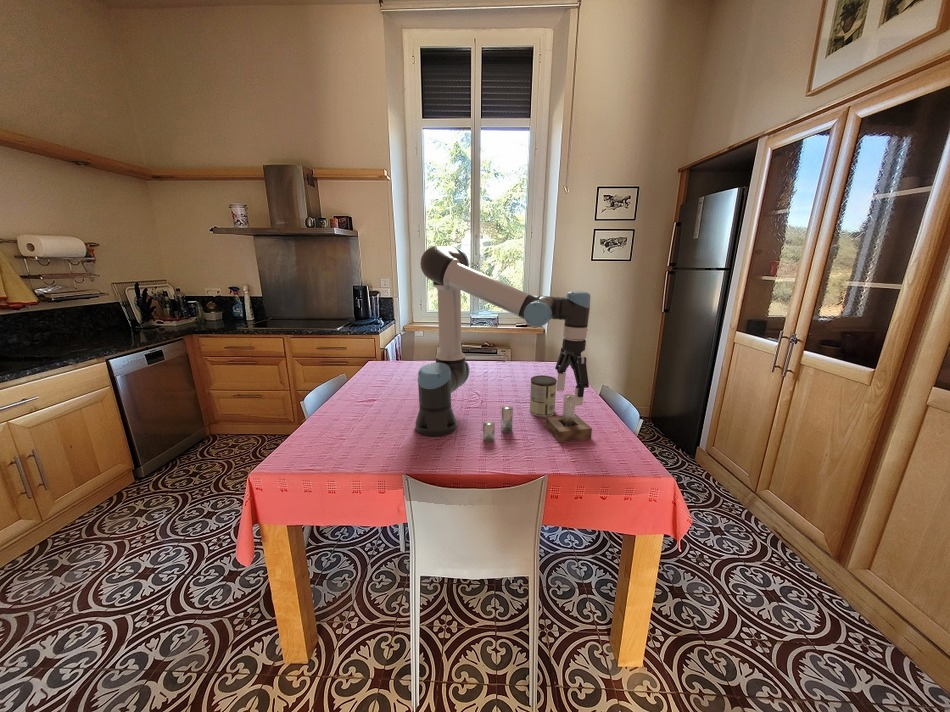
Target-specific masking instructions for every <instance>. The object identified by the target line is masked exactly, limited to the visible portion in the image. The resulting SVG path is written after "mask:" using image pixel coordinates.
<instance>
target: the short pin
mask: <svg viewBox="0 0 950 712" xmlns="http://www.w3.org/2000/svg"><path fill="white" fill-rule="evenodd" d="M495 429H496V424H495V422H494V421H490V420H486V421H484V422H483V424H482V440H483V442H485V443H493V442H495V439H496V437H495V436H496V435H495V434H496V433H495V432H496V431H495Z"/></svg>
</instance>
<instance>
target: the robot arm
mask: <svg viewBox="0 0 950 712" xmlns="http://www.w3.org/2000/svg"><path fill="white" fill-rule="evenodd" d="M469 266H470V263H469V259H468V256H467V255H466V253H465V252H464V251H463V250H462V249H460V248H458V247H454V246H441V245H434V246H431V247H428V248H427V249H426V250H425V251H424V252H423V253H422V255H421V258H420V269H421V271H422V273H423V275H424V276H425V278H427V279H428V280H430V281H432V283H433V284H432V285H433V287H435V288H436V290H437V313H438V314H437V315H438V316H437V317H438V348H439V349H438V350H439V352H438V353H436V355H435V362H431V363H427V364H425V365H423V366H422V367H421V368H420V369H419V370H418V373H417V385H418V386H417V387H418V402H419V403H418V404H419V406H418V407H419V408H418V409H419V410H418V413H417V416H416V419H415V424H414V425H415V431H416V432H417V433H418V434H420V435H423V436H425V437H431V438H432V437H443V436H446V435H449V434H451V433H453V432H454V431H455V430H456V429H457V419H456V416H455V414H454V413H455V412H454V410H453V408H452V393H453V392H455V391H456V390H457V389H458V388H460V387H462V386H463V385H464V384H466V382H467V380H468V378H469V376H470V366H469V364H468V361H466V355H465V353H464V352H462V351H463V350H462V302H461V301H462V299H461V298H462V295H461V294H462V293H461V291H462V292H464V293H467V294H468V295H471V296H473V297H475V298H478V299H479V300H482V301H483V302H486V303H487V304H488V303H489V304H490V305H492V306H494V307H497V308H500V309H502V310H503V311H506V312H508V313H511V314H513V315H515V316H516V317H519V318H521V319H523V320H524V321H525V322H526V323H527V324H528V325H529V326H531V327H533V328H534V327H536V328H537V327H538V328H539V327H542V326H544V325H546V324H547V323H548V322H549V321H551V320H560V321H564V324H563V335H562V336H563V339H562V345H561V348H560V351H559V352H560V353H559V355H558V358H557V361H556V364H555V367H554V368H555V369H554V370H556V373H557V378H556V380H557V382H556V392H557V391H558V392H559V391H562V392H563V391H565V385H566V376H567V374H566V373H567V370H568V368H569V366H570V368H571V369H572V370H573V374H574V379H575V383H576V385H575V388H574V396H575V397H574V406H575V407H576V406H583V401H584V393H585V388H589V387H590V384H589V376H588V369H587V357H586V356H582V352H585V351H586V347H587V344H586V343H587V340H586V339H587V333H588V327H589V326H588V325H589V317H590V308H591V294H590V293H589V292H587V291H579V290H577V291H574V290H573V291H571V290H570V291H568V292H567V293H566V295H565V296H562V297H561V296H548V295H531V294H530V293H528V292H525V291H523V290H520V289H518V288H516V287H513V286H511V285H509V284H507V283H505V282H502V281H501V280H498V279H495V278H493V277H492V276H489V275H487V274H484V273H482V272H480V271H478V270H475V269H472V268H470V267H469Z"/></svg>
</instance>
